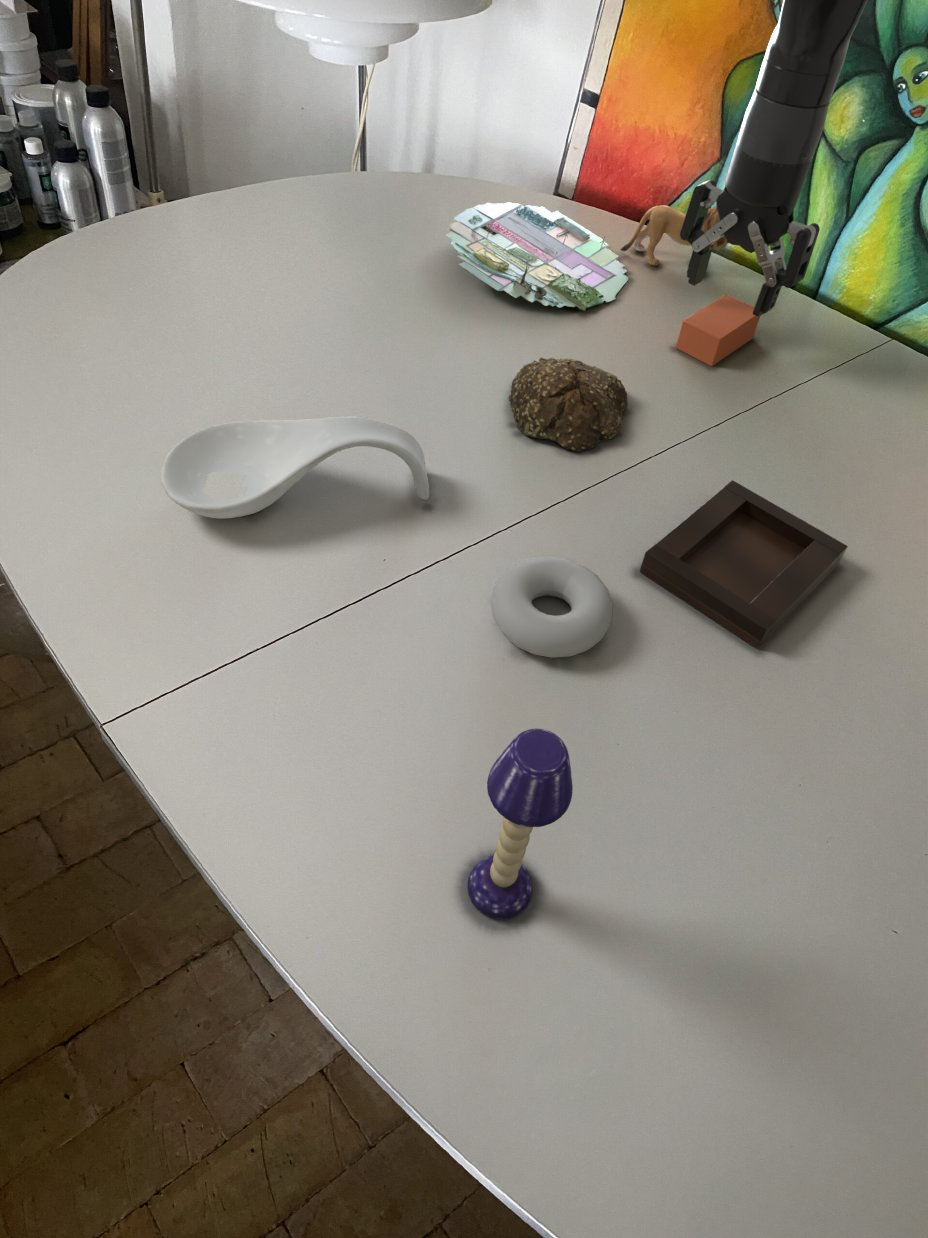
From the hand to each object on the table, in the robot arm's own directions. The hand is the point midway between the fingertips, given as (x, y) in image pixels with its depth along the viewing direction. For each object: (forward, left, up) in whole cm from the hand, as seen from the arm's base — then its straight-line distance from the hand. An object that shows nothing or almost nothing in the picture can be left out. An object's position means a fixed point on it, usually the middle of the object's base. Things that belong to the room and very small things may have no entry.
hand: (726, 297), depth 98 cm
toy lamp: (+67, +27, -6) cm, 73 cm away
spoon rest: (+52, -12, -6) cm, 54 cm away
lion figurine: (-13, -14, -6) cm, 20 cm away
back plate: (+30, +22, -6) cm, 38 cm away
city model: (+3, -25, -6) cm, 26 cm away
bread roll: (+24, -3, -6) cm, 25 cm away
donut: (+47, +14, -6) cm, 49 cm away
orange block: (0, 0, -6) cm, 6 cm away
